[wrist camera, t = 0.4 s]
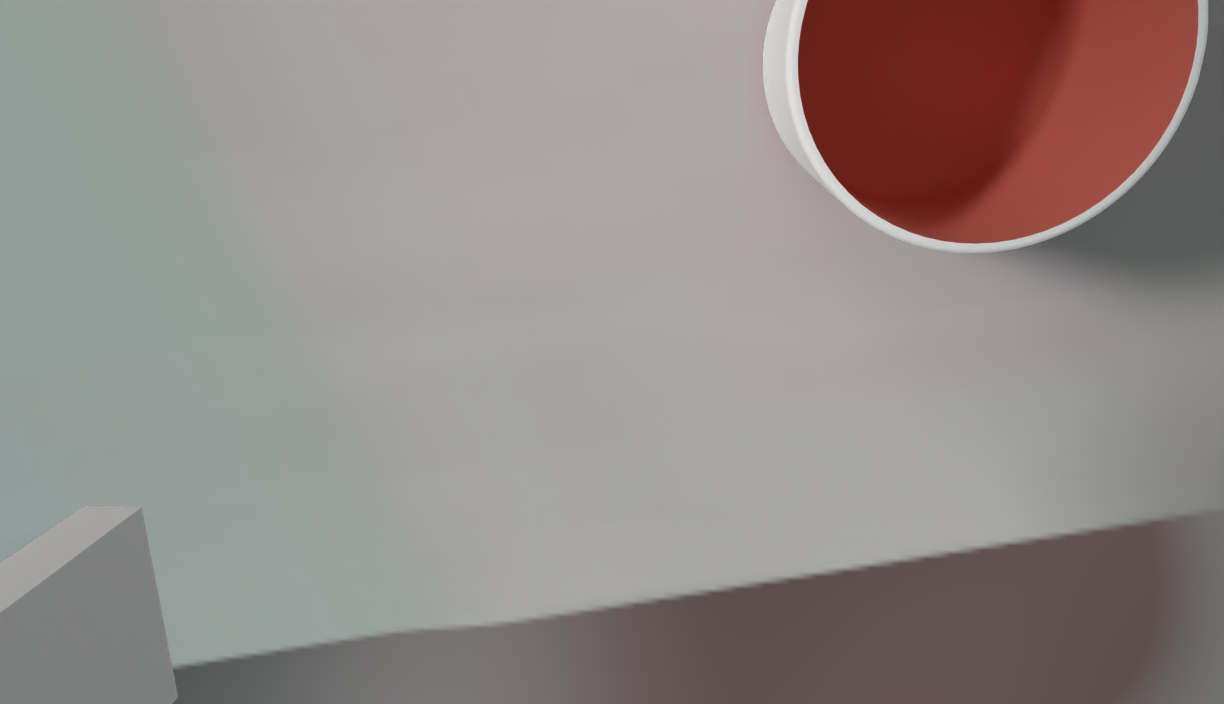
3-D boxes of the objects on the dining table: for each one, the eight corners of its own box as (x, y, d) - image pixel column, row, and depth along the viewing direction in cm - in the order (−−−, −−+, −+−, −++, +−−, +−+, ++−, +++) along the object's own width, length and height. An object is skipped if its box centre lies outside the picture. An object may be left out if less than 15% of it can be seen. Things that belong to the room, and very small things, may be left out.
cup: (762, -92, 31) (791, -166, 21) (1071, -107, 30) (1245, -190, 21) (757, 205, 34) (780, 257, 24) (1039, 200, 33) (1178, 253, 23)
